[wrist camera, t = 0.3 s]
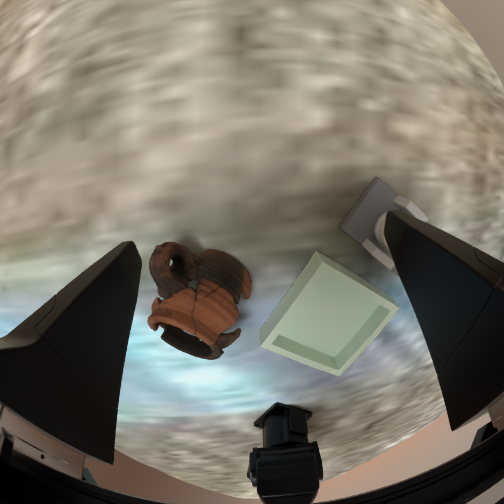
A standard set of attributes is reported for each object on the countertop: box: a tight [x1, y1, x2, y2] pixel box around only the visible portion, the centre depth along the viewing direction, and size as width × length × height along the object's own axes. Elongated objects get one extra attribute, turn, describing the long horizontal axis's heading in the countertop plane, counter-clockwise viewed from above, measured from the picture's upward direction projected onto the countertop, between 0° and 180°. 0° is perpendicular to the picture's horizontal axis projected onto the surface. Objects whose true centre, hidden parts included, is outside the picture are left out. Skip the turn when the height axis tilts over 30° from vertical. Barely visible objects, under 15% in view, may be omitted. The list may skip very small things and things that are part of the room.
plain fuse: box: [373, 210, 389, 250], centre depth 22 cm, size 4×4×5 cm
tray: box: [260, 251, 400, 376], centre depth 27 cm, size 11×11×3 cm
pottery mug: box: [147, 242, 252, 360], centre depth 25 cm, size 12×10×8 cm
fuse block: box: [339, 177, 428, 274], centre depth 24 cm, size 6×17×4 cm, turn 56°
